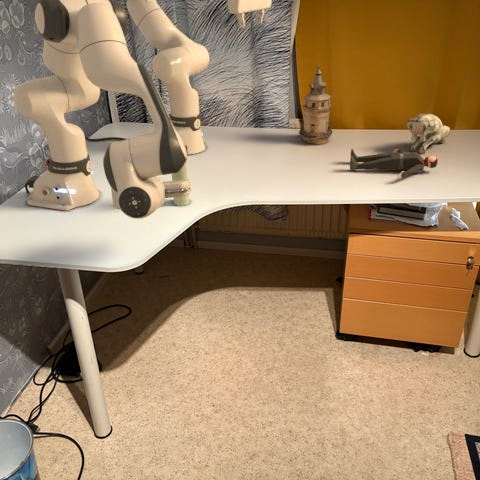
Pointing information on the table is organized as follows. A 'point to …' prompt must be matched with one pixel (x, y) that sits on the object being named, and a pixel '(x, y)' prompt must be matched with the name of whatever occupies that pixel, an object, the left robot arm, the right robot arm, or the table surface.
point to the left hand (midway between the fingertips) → (155, 187)
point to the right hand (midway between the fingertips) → (250, 25)
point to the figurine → (427, 131)
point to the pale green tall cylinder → (181, 176)
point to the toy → (393, 162)
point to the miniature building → (316, 112)
